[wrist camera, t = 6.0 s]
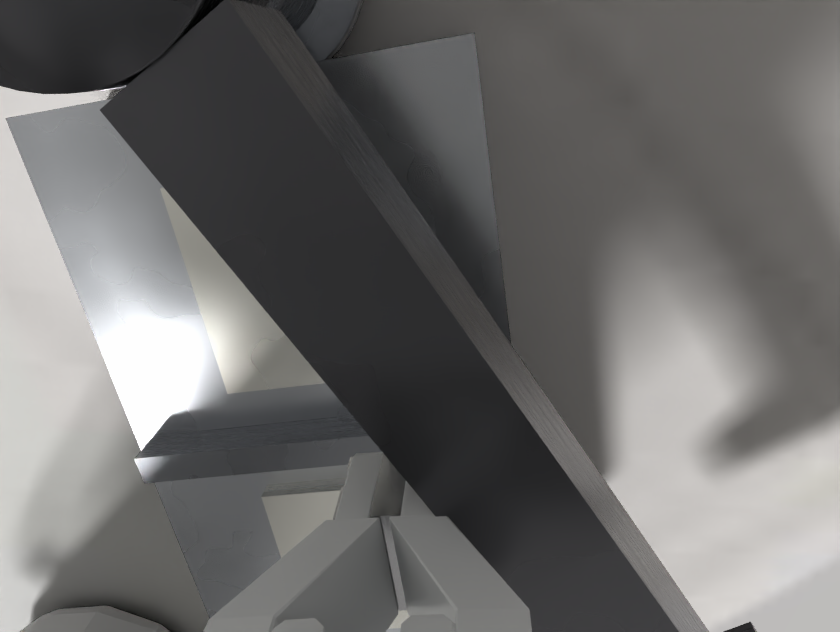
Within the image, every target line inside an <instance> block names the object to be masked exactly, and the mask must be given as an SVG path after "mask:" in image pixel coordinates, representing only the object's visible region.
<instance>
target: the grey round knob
mask: <svg viewBox="0 0 840 632" xmlns="http://www.w3.org/2000/svg"><path fill="white" fill-rule="evenodd" d="M362 2H363V0H269V2H268V5H267V7H268V8H272V9H276V10H280V11H281V12H282V14H283V15H284V16H285V18H286V19H287V21H288V22H289V24H290V25H291V27H292V28H293V29H294V31H295V32H296V34H297V35H298V37H299V38H300V40H301V41H302V42H303V44H304V45H305V47H306V48H307V50H308V51H309V53H310V54H311V56H312V57H313V58H314V60H315V61H316V62H317V61H323V60H328V59H331V58H332V57H333V55H334V54H335V53H336V52H337V51H338V50H339V49H340V48H341V46H342V45H343V43H344V42H345V41H346V39H347V38H348V36H349V34H350V32H351V30H352V29H353V27H354V25H355V23H356V20H357V17H358V15H359V12H360V9H361V6H362Z"/></svg>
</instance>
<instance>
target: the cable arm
mask: <svg viewBox="0 0 840 632" xmlns="http://www.w3.org/2000/svg"><path fill="white" fill-rule="evenodd" d="M268 2H269V0H0V86H3V87H7V88H11V89H14V90H18V91H25V92H33V93H41V94H69V93H79V92H90V91H100V90H110V89H121V88H124V89H123V90H122V91H120V92H119V93H118V94H117V95H116V96H115V97H114V98H112V99H111V100H110V101H109V102H108V103H107V104H106V105H105V106H103V107H102V108H101V109H100V111H101V112H102V114H103V115H104V116H105V117H106V118H107V120H108V121H109V122H110V123H111V124H112V126H113V127H114V128H115V129H116V130H117V132H118V133H119V134H120V135H121V137H122V138H123V139H124V140H125V141H126V143H127V144H128V145H129V146H130V147H131V149H132V150H133V151H134V152H135V153H136V155H137V156H138V157H139V158H140V160H141V161H142V162H143V163H144V164H145V166H146V167H147V168H148V169H149V170H150V172H151V173H152V174H153V175H154V176H155V178H156V179H157V180H158V181H159V183H160V184H161V185H162V186H163V187H164V189H165V190H166V191H167V192H168V193H169V195H170V196H171V197H172V198H173V199H174V201H175V202H176V203H177V204H178V205H179V207H180V208H181V209H182V210H183V212H184V213H185V214H186V215H187V216H188V218H189V219H190V220H191V221H192V222H193V224H194V225H195V226H196V227H197V228H198V230H199V231H200V232H201V233H202V235H203V236H204V237H205V238H206V239H207V241H208V242H209V243H210V244H211V245H212V247H213V248H214V249H215V250H216V251H217V253H218V254H219V255H220V256H221V258H222V259H223V260H224V261H225V262H226V264H227V265H228V266H229V267H230V268H231V270H232V271H233V272H234V273H235V274H236V276H237V277H238V278H239V279H240V280H241V282H242V283H243V284H244V285H245V287H246V288H247V289H248V290H249V291H250V293H251V294H252V295H253V296H254V297H255V299H256V300H257V301H258V302H259V303H260V305H261V306H262V307H263V308H264V310H265V311H266V312H267V313H268V314H269V316H270V317H271V318H272V319H273V320H274V322H275V323H276V324H277V325H278V326H279V328H280V329H281V330H282V331H283V333H284V334H285V335H286V336H287V337H288V339H289V340H290V341H291V342H292V343H293V345H294V346H295V347H296V348H297V349H298V351H299V352H300V353H301V354H302V355H303V357H304V358H305V359H306V360H307V362H308V363H309V364H310V365H311V366H312V368H313V369H314V370H315V371H316V372H317V374H318V375H319V376H320V377H321V378H322V380H323V381H324V382H325V383H326V385H327V386H328V387H329V388H330V389H331V391H332V392H333V393H334V394H335V395H336V397H337V398H338V399H339V400H340V401H341V403H342V404H343V405H344V406H345V407H346V409H347V410H348V411H349V412H350V414H351V415H352V416H353V417H354V418H355V420H356V421H357V422H358V423H359V424H360V426H361V427H362V428H363V429H364V430H365V432H366V433H367V434H368V435H369V437H370V438H371V439H372V440H373V441H374V443H375V444H376V445H377V446H378V447H379V449H380V450H381V451H382V452H383V453H384V455H385V456H386V457H387V458H388V460H389V461H390V462H391V463H392V464H393V466H394V467H395V468H396V469H397V470H398V472H399V473H400V474H401V475H402V476H403V478H404V479H405V480H406V481H407V482H408V484H409V485H410V486H411V487H412V489H413V490H414V491H415V492H416V493H417V495H418V496H419V497H420V498H421V499H422V501H423V502H424V503H425V504H426V505H427V507H428V508H429V509H430V510H431V512H432V513H433V514H434V515H435V516H436V517H438V516H447V517H449V518H450V520H451V521H452V522H453V523H454V524H455V525H456V526H457V527H458V529H459V530H460V531H461V532H462V533H463V534H464V535H465V537H466V538H467V539H468V540H469V541H470V542H471V543H472V545H473V546H474V547H475V548H476V549H477V550H478V551H479V552H480V554H481V555H482V556H483V557H484V558H485V559H486V560H487V562H488V563H489V564H490V565H491V566H492V567H493V568H494V570H495V571H496V572H497V573H498V574H499V575H500V576H501V577H502V579H503V580H504V581H505V582H506V583H507V584H508V585H509V587H510V588H511V589H512V590H513V591H514V592H515V593H516V595H517V596H518V597H519V598H520V599H521V600H522V601H523V602H524V604H525V605H526V606H527V607H528V608H529V610H530V618H531V627H532V632H709V631H708V629H707V628H706V627H705V625H704V624H703V622H702V621H701V619H700V618H699V616H698V615H697V614H696V612H695V611H694V609H693V608H692V606H691V605H690V603H689V602H688V600H687V599H686V598H685V596H684V595H683V593H682V592H681V590H680V589H679V587H678V586H677V585H676V583H675V582H674V580H673V579H672V577H671V576H670V574H669V573H668V572H667V570H666V569H665V567H664V566H663V564H662V563H661V561H660V560H659V558H658V557H657V556H656V554H655V553H654V551H653V550H652V548H651V547H650V545H649V544H648V543H647V541H646V540H645V538H644V537H643V535H642V534H641V532H640V531H639V529H638V528H637V527H636V525H635V524H634V522H633V521H632V519H631V518H630V516H629V515H628V514H627V512H626V511H625V509H624V508H623V506H622V505H621V503H620V502H619V500H618V499H617V498H616V496H615V495H614V493H613V492H612V490H611V489H610V487H609V486H608V485H607V483H606V482H605V480H604V479H603V477H602V476H601V474H600V473H599V472H598V470H597V469H596V467H595V466H594V464H593V463H592V461H591V460H590V458H589V457H588V456H587V454H586V453H585V451H584V450H583V448H582V447H581V445H580V444H579V443H578V441H577V440H576V438H575V437H574V435H573V434H572V432H571V431H570V429H569V428H568V427H567V425H566V424H565V422H564V421H563V419H562V418H561V416H560V415H559V414H558V412H557V411H556V409H555V408H554V406H553V405H552V403H551V402H550V400H549V399H548V398H547V396H546V395H545V393H544V392H543V390H542V389H541V387H540V386H539V385H538V383H537V382H536V380H535V379H534V377H533V376H532V374H531V373H530V371H529V370H528V369H527V367H526V366H525V364H524V363H523V361H522V360H521V358H520V357H519V356H518V354H517V353H516V351H515V350H514V348H513V347H512V345H511V344H510V343H509V341H508V340H507V338H506V337H505V335H504V334H503V332H502V331H501V329H500V328H499V327H498V325H497V324H496V322H495V321H494V319H493V318H492V316H491V315H490V314H489V312H488V311H487V309H486V308H485V306H484V305H483V303H482V302H481V300H480V299H479V298H478V296H477V295H476V293H475V292H474V290H473V289H472V287H471V286H470V285H469V283H468V282H467V280H466V279H465V277H464V276H463V274H462V273H461V271H460V270H459V269H458V267H457V266H456V264H455V263H454V261H453V260H452V258H451V257H450V256H449V254H448V253H447V251H446V250H445V248H444V247H443V245H442V244H441V243H440V241H439V240H438V238H437V237H436V235H435V234H434V232H433V231H432V229H431V228H430V227H429V225H428V224H427V222H426V221H425V219H424V218H423V216H422V215H421V214H420V212H419V211H418V209H417V208H416V206H415V205H414V203H413V202H412V200H411V199H410V198H409V196H408V195H407V193H406V192H405V190H404V189H403V187H402V186H401V185H400V183H399V182H398V180H397V179H396V177H395V176H394V174H393V173H392V171H391V170H390V169H389V167H388V166H387V164H386V163H385V161H384V160H383V158H382V157H381V156H380V154H379V153H378V151H377V150H376V148H375V147H374V145H373V144H372V142H371V141H370V140H369V138H368V137H367V135H366V134H365V132H364V131H363V129H362V128H361V127H360V125H359V124H358V122H357V121H356V119H355V118H354V116H353V115H352V114H351V112H350V111H349V109H348V108H347V106H346V105H345V103H344V102H343V100H342V99H341V98H340V96H339V95H338V93H337V92H336V90H335V89H334V87H333V86H332V85H331V83H330V82H329V80H328V79H327V77H326V76H325V74H324V73H323V71H322V70H321V69H320V67H319V66H318V64H317V63H316V61H315V60H314V58H313V57H312V56H311V54H310V53H309V51H308V50H307V48H306V47H305V45H304V44H303V42H302V41H301V40H300V38H299V37H298V35H297V34H296V32H295V31H294V29H293V28H292V27H291V25H290V24H289V22H288V21H287V19H286V18H285V16H284V15H283V14H282V12H281V11H280V10H276V9H272V8H268V7H267V5H268ZM724 632H757V631H756V629H755V628H754V626H753V625H752V623H751V622H749V623H746V624H743V625H740V626H738V627H735V628H732V629H730V630H727V631H724Z"/></svg>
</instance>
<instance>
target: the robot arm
mask: <svg viewBox="0 0 840 632" xmlns="http://www.w3.org/2000/svg"><path fill="white" fill-rule="evenodd" d="M347 471H348V474H347V477H346V481H345V484H344V486H343V487H342V488H341V491H340V494H339V498H338V502H337V505H336V509H335V513H334V516H333V520H326V521H324V522H323V523H322V524H321V525H320V526H318V527H317V528H316V529H315V530H314V531H313V532H311V533H310V534H309V535H308V536H307V537H305V538H304V539H303V540H302V541H301V542H300V543H298V544H297V545H296V546H295V547H294V548H292V549H291V550H290V551H289V552H288V553H287V554H285V555H284V556H283V557H282V558H281V559H279V560H278V561H277V562H276V563H275V564H274V565H272V566H271V567H270V568H269V569H268V570H266V571H265V572H264V573H263V574H262V575H261V576H259V577H258V578H257V579H256V580H255V581H254V582H252V583H251V584H250V585H249V586H248V587H246V588H245V589H244V590H243V591H242V592H241V593H239V594H238V595H237V596H236V597H235V598H233V599H232V600H231V601H230V602H229V603H228V604H226V605H225V606H224V607H223V608H222V609H220V610H219V611H218V612H217V613H216V614H215V615H213V616H212V617H211V618H210V619H209V620H208V622H207V625H206V627H205V629H204V631H203V632H386V631H387V629H388V628H389V627H390V625H391V624H392V622H393V621H394V619H395V618H396V617H397V615H398V611H401V610H407V612H408V614H409V616H410V617H409V618H408V619H406V620H405V621H404V622H403V623H402V624H401V629H400V632H532V627H531V618H530V610H529V608H528V607H527V606H526V605H525V604H524V602H523V601H522V600H521V599H520V598H519V597H518V596H517V595H516V593H515V592H514V591H513V590H512V589H511V588H510V587H509V585H508V584H507V583H506V582H505V581H504V580H503V579H502V577H501V576H500V575H499V574H498V573H497V572H496V571H495V570H494V568H493V567H492V566H491V565H490V564H489V563H488V562H487V560H486V559H485V558H484V557H483V556H482V555H481V554H480V552H479V551H478V550H477V549H476V548H475V547H474V546H473V545H472V543H471V542H470V541H469V540H468V539H467V538H466V537H465V535H464V534H463V533H462V532H461V531H460V530H459V529H458V527H457V526H456V525H455V524H454V523H453V522H452V521H451V520H450V518H449V517H447V516H438V517H436V516H435V515H434V514H433V513H432V512H431V510H430V509H429V508H428V507H427V505H426V504H425V503H424V502H423V501H422V499H421V498H420V497H419V496H418V495H417V493H416V492H415V491H414V490H413V489H412V487H411V486H410V485H409V484H408V482H407V481H406V480H405V479H404V478H403V476H402V475H401V474H400V473H399V472H398V470H397V469H396V468H395V467H394V466H393V464H392V463H391V462H390V461H389V460H388V458H387V457H386V456H385V455H384V453H383V452H370V453H356V454H355V455H354V456H351V457H350V460H349V463H348V466H347Z"/></svg>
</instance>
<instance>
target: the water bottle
mask: <svg viewBox="0 0 840 632" xmlns="http://www.w3.org/2000/svg"><path fill="white" fill-rule="evenodd" d="M20 632H170V631H169V630H168V629H166V628H165V627H164V626H162V625H161V624H159V623H156V622H153V621H150V620H147V619H145V618H142V617H139V616H136V615H133V614H130V613H127V612H125V611H122V610H119V609H116V608H113V607H110V606H93V607H79V608H65V609H57V610H55V611H52V612H50V613H47V614H45V615H42V616H41V617H39V618H38V619H36V620H35V621H34V622H32V623H31V624H29V625H28V626H27V627H25V628H24V629H23V630H21V631H20Z"/></svg>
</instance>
